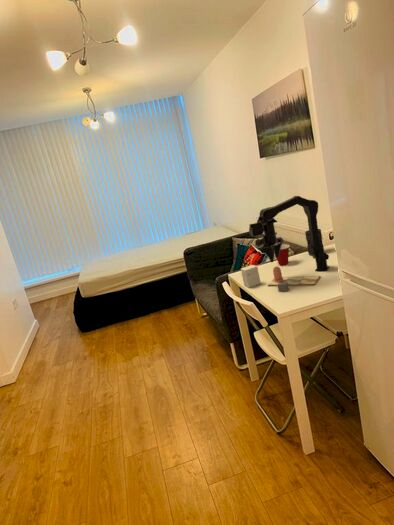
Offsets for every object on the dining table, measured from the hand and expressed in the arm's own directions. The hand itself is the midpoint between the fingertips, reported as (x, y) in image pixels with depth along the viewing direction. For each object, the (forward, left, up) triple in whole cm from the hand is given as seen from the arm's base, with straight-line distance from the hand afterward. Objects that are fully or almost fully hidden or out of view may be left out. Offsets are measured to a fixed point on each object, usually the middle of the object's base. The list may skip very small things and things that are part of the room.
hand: (274, 259), depth 210 cm
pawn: (0, 0, -12) cm, 12 cm away
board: (0, +9, -13) cm, 16 cm away
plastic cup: (-31, -8, -13) cm, 35 cm away
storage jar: (-50, +8, -13) cm, 52 cm away
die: (+12, +7, -13) cm, 19 cm away
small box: (+3, -15, -13) cm, 20 cm away
